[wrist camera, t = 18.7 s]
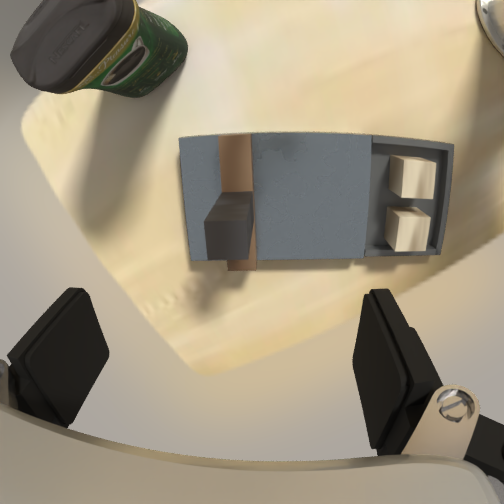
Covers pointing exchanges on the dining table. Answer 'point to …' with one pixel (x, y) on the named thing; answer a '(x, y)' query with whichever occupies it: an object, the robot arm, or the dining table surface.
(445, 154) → the tray
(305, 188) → the board
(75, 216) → the dining table surface
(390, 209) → the pale wooden cube
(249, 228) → the brown handled push block
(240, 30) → the dining table surface
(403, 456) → the robot arm
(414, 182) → the chip
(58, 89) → the coffee jar
